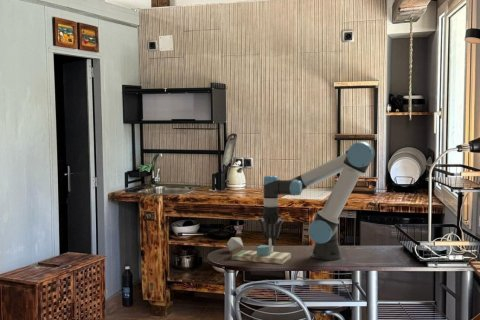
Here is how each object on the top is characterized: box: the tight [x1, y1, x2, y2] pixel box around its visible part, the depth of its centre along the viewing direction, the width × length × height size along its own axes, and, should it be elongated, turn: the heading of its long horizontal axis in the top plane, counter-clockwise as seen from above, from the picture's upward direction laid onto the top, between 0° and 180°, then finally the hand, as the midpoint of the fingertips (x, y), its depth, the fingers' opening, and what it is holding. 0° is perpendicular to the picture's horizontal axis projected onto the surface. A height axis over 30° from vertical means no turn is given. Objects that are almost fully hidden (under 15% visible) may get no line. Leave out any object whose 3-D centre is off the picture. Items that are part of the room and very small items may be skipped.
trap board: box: [229, 244, 292, 265], centre depth 279 cm, size 28×14×5 cm, turn 68°
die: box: [226, 236, 244, 252], centre depth 297 cm, size 8×9×10 cm
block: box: [256, 244, 272, 256], centre depth 278 cm, size 6×6×4 cm
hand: (270, 251), depth 277 cm, fingers closed
